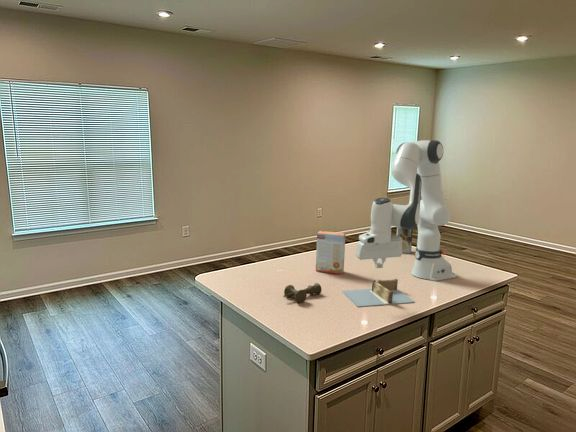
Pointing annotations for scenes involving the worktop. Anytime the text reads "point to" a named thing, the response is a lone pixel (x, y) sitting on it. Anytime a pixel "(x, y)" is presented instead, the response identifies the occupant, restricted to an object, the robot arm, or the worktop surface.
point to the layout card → (372, 299)
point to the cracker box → (330, 252)
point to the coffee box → (405, 239)
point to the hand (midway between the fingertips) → (378, 267)
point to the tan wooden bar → (382, 291)
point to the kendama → (301, 292)
